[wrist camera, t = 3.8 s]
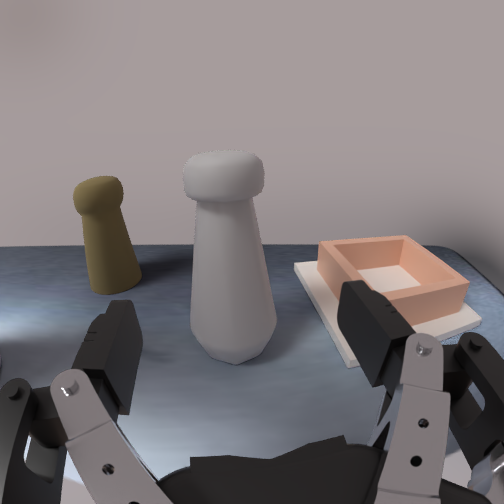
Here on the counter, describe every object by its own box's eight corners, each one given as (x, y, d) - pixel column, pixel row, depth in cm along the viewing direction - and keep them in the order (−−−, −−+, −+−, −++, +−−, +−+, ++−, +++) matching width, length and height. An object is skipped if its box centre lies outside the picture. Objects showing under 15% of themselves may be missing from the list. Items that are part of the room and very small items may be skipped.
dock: (347, 368, 17) (359, 324, 15) (294, 269, 30) (295, 235, 28) (479, 325, 19) (493, 289, 17) (403, 258, 31) (408, 228, 30)
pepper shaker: (118, 262, 32) (102, 172, 27) (153, 273, 30) (137, 170, 25) (80, 285, 27) (56, 186, 22) (112, 300, 25) (86, 186, 20)
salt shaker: (278, 321, 22) (281, 146, 17) (273, 377, 17) (277, 156, 11) (205, 317, 23) (188, 149, 17) (184, 367, 18) (148, 162, 12)
